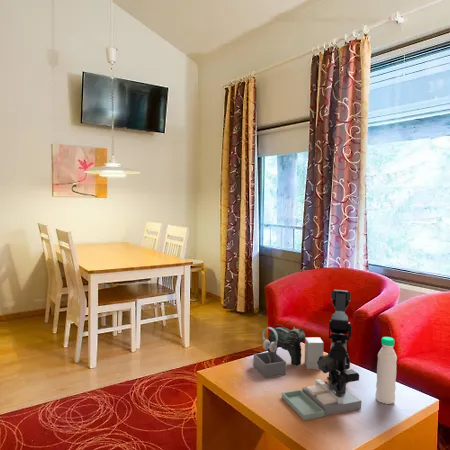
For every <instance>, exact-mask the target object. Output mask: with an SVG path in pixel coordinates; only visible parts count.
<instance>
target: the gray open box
mask: <svg viewBox="0 0 450 450" xmlns="http://www.w3.org/2000/svg"><path fill="white" fill-rule="evenodd" d="M266 353H267V354H268V355H267V354H266ZM268 356H269V357H270V358H269V357H268ZM270 360H271V362H270ZM269 363H270V364H269ZM253 368H254V369H255V370H256V371H257V372H258V374H260V375H261V376H262V377H263V378H264V379H268V378H272V377H273V378H274V377H279V376H280V377H281V376H286V373H287V371H286V368H287V362H286V360H284V359H283V358H282V357H281V356H280V355H278V354H277V352H276V353H275V352H268V351H266V352H261V353H253Z"/></svg>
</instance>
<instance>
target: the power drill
mask: <svg viewBox="0 0 450 450" xmlns="http://www.w3.org/2000/svg"><path fill="white" fill-rule="evenodd" d="M288 322H289V323H290V325H293V322H292V321H290V320H287V321H286V322H285V324H287V323H288ZM275 326H276V327H275ZM279 326H280V327H279ZM279 326H278V327H277V324H274V325H272V327H271V328H273V329H275V331H276V332H277V334H278V341H277V349H276V351H275V353H276V354H277V351H278V347H280V348H281V349H283V350H285V351H287V352H288V354H289V357H290V365H291V366H295V367H298V366H300V365H302V357H303V356H302V346H301V343H303V342H305V338H306V334H305V332H304V330H303V328H302V327H300V328H295V326H291V329H289V328H288V327H287V328H286V327H284V325H282V324H279ZM267 340H269V341H270V344H271V342H276V336H275V334H274V332H273V331H272V330H270V332H269V334H268V339H267ZM267 352H271V351H270V349H268V350H267Z"/></svg>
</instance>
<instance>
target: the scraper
mask: <svg viewBox="0 0 450 450" xmlns="http://www.w3.org/2000/svg"><path fill="white" fill-rule="evenodd" d="M328 383H329V386H328V385H327V384H326V382H324V381H323V380H321V379H320V378H319V379H315V385H319V386H320V387H321V388H322V389H323V390H325V393H328V394H330V395H331V396H332V397H333V398H335V399H336V403H337V404H342V403H343V397H342V396H341V395H340V394H343V393H346V389H347V383H345V384H344V386H343V388H342V390H341V391H338V385H337V381H335V382H331V381H330V382H328Z"/></svg>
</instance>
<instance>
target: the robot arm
mask: <svg viewBox="0 0 450 450" xmlns="http://www.w3.org/2000/svg"><path fill="white" fill-rule="evenodd" d="M351 295H352V293H351V291H348V290H346V289H345V290H343V289H333V290H331V291H330V300H331V301H332V306H333V307H334V313H333V314H331V320H329V321H328V323H329V324H328V339H330V340H331V343H330V349H329V351H328V352H327V355H323V356H320V357H319V360H318V361H317V364H318V367H319V369H318V370H319V371H321V372H322V373H323V374H327V373H328V376H327V378H326V379H328V380H329V381H330V382H335V381H337V385H338V391H341V390H342V388H343V386H344V384H345V383H346V384H348V383H351V382H358V381H360V374H359V372H357V371H355V370H354V369H353V368H352V369H350V368H351V359H350V357H349V353H348V350H347V346H348V345H347V343H348V342H347V341H350V338H352V325H351V322H350V321H349V316H348V315H347V314H346V310H347V308H348V306H349V302H351V301H352V300H351V299H352V296H351Z"/></svg>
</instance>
